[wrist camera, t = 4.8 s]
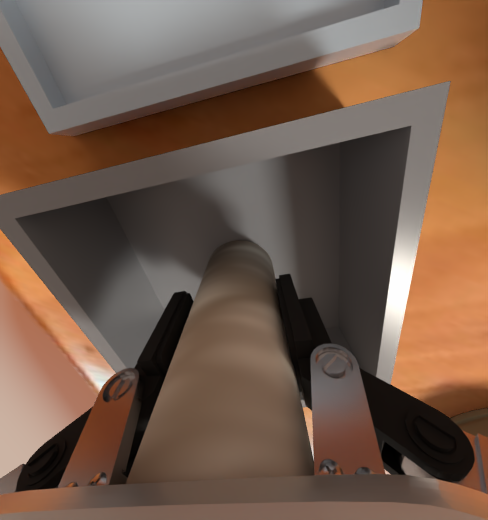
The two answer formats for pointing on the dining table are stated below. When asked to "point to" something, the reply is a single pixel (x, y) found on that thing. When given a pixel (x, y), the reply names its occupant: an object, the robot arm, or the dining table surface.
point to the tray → (179, 50)
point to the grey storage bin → (245, 224)
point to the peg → (229, 384)
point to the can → (473, 422)
